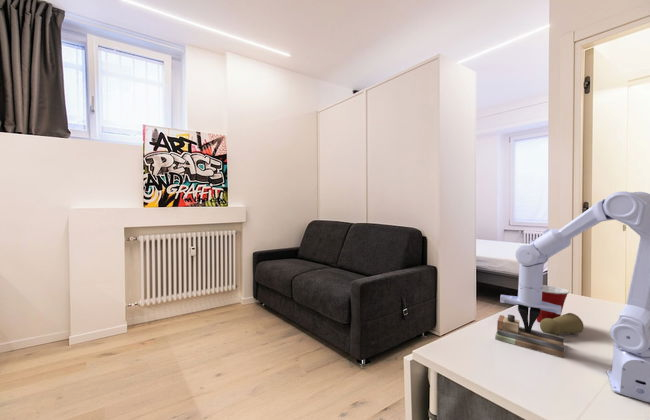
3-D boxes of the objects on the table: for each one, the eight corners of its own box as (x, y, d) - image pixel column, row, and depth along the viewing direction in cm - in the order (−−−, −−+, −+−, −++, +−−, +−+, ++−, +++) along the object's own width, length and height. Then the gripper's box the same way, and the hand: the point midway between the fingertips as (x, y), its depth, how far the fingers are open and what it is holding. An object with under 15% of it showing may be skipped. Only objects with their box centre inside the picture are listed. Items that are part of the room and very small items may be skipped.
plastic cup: (557, 317, 104) (559, 283, 103) (574, 331, 93) (576, 294, 92) (522, 313, 106) (523, 281, 106) (534, 326, 96) (536, 290, 95)
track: (563, 343, 85) (564, 327, 85) (564, 357, 78) (565, 339, 78) (499, 328, 95) (500, 312, 95) (495, 339, 88) (495, 322, 87)
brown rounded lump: (585, 335, 89) (556, 341, 87) (564, 330, 95) (537, 335, 92) (582, 315, 90) (553, 320, 87) (562, 310, 95) (534, 315, 93)
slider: (518, 331, 90) (519, 315, 89) (517, 337, 86) (518, 319, 86) (503, 328, 92) (504, 311, 92) (501, 333, 89) (502, 316, 88)
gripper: (561, 287, 84) (559, 333, 85) (503, 278, 93) (501, 320, 94) (562, 294, 79) (559, 343, 80) (500, 283, 88) (498, 328, 88)
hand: (527, 331), depth 86 cm, fingers closed
